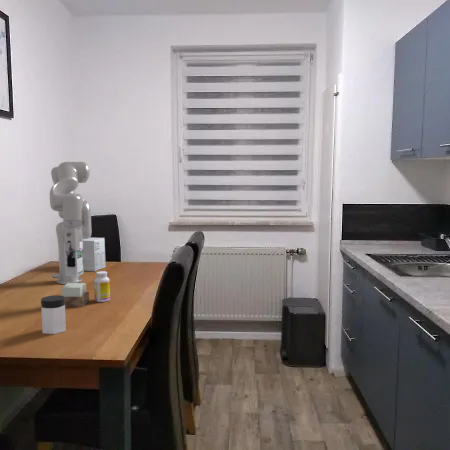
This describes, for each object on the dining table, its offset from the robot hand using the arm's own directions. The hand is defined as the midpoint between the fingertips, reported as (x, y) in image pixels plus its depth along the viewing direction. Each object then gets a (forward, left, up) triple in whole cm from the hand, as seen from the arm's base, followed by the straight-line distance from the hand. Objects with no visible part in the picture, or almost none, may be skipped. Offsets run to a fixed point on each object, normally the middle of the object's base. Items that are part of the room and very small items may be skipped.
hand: (74, 264), depth 198 cm
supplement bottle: (+10, +5, -17) cm, 21 cm away
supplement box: (-18, +73, -18) cm, 77 cm away
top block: (0, 0, -13) cm, 13 cm away
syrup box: (0, 0, -5) cm, 5 cm away
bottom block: (0, 0, -18) cm, 18 cm away
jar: (+4, -34, -17) cm, 38 cm away
